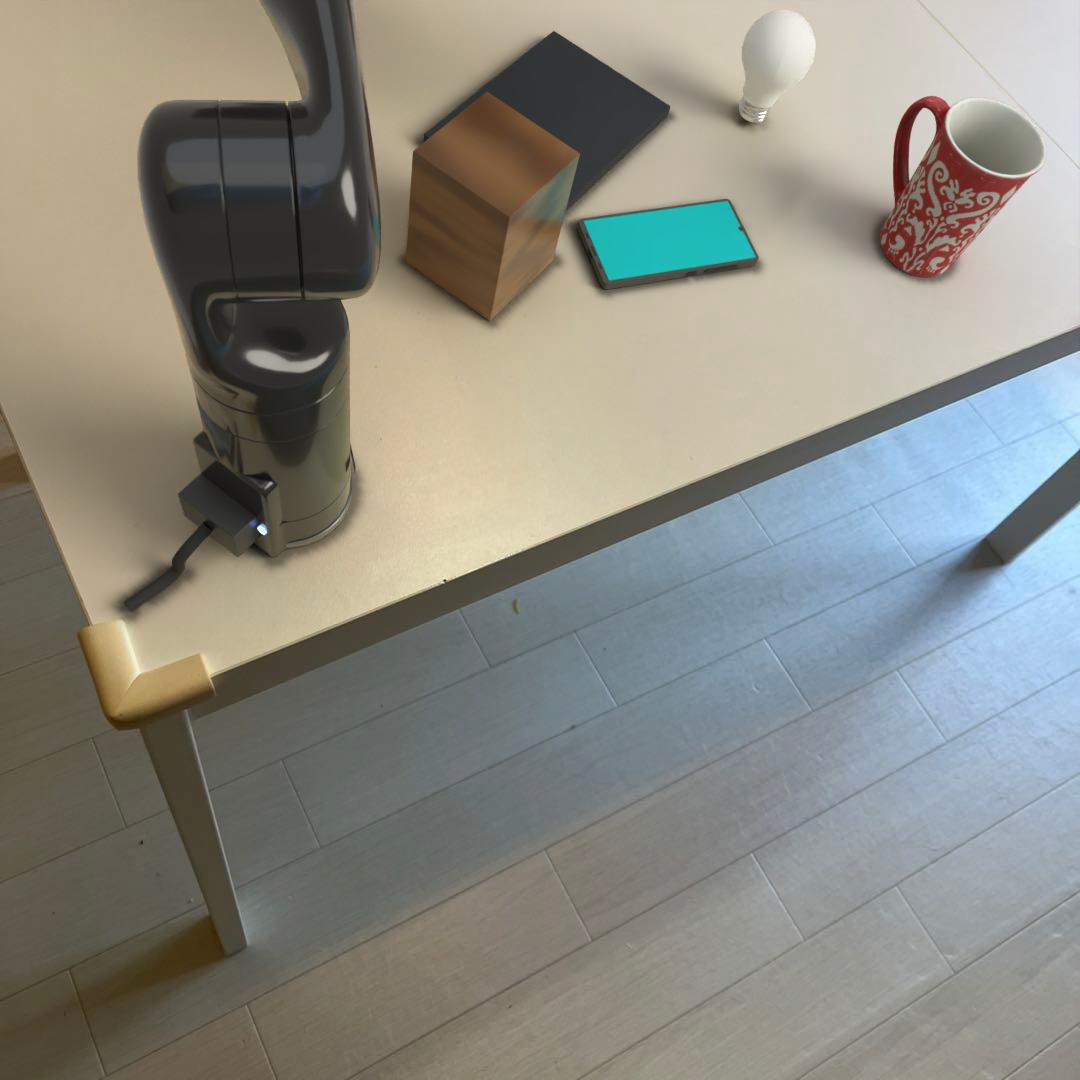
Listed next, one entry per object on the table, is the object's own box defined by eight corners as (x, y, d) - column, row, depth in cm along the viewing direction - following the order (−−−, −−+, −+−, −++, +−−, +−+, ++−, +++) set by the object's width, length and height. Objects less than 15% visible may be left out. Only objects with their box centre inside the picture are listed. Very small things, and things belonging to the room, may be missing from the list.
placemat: (546, 229, 90) (549, 219, 88) (422, 144, 92) (423, 133, 91) (667, 116, 98) (670, 106, 97) (551, 41, 100) (553, 30, 99)
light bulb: (779, 150, 99) (826, 52, 89) (713, 132, 98) (753, 32, 89) (784, 103, 102) (829, 4, 92) (720, 86, 102) (759, -15, 92)
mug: (980, 269, 96) (1069, 159, 84) (910, 298, 93) (992, 188, 81) (900, 175, 100) (974, 57, 88) (830, 200, 97) (896, 81, 85)
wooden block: (489, 321, 84) (509, 217, 73) (405, 262, 85) (412, 150, 75) (553, 260, 88) (580, 153, 77) (471, 204, 89) (487, 91, 79)
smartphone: (577, 219, 89) (729, 198, 93) (575, 225, 90) (726, 204, 94) (605, 284, 87) (760, 260, 91) (603, 291, 87) (757, 266, 91)
